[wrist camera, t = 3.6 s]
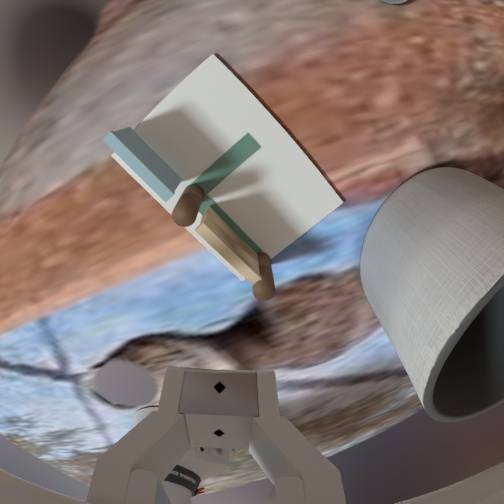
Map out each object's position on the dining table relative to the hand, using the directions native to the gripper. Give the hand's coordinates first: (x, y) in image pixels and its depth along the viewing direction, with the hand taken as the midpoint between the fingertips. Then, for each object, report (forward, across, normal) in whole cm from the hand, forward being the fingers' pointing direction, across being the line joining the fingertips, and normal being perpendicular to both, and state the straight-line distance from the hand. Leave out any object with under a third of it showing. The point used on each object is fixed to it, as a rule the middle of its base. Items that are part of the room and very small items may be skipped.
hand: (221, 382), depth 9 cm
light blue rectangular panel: (+26, +8, -1) cm, 28 cm away
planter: (+27, -26, +8) cm, 39 cm away
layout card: (+27, +1, +1) cm, 27 cm away
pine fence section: (+27, 0, +7) cm, 28 cm away
